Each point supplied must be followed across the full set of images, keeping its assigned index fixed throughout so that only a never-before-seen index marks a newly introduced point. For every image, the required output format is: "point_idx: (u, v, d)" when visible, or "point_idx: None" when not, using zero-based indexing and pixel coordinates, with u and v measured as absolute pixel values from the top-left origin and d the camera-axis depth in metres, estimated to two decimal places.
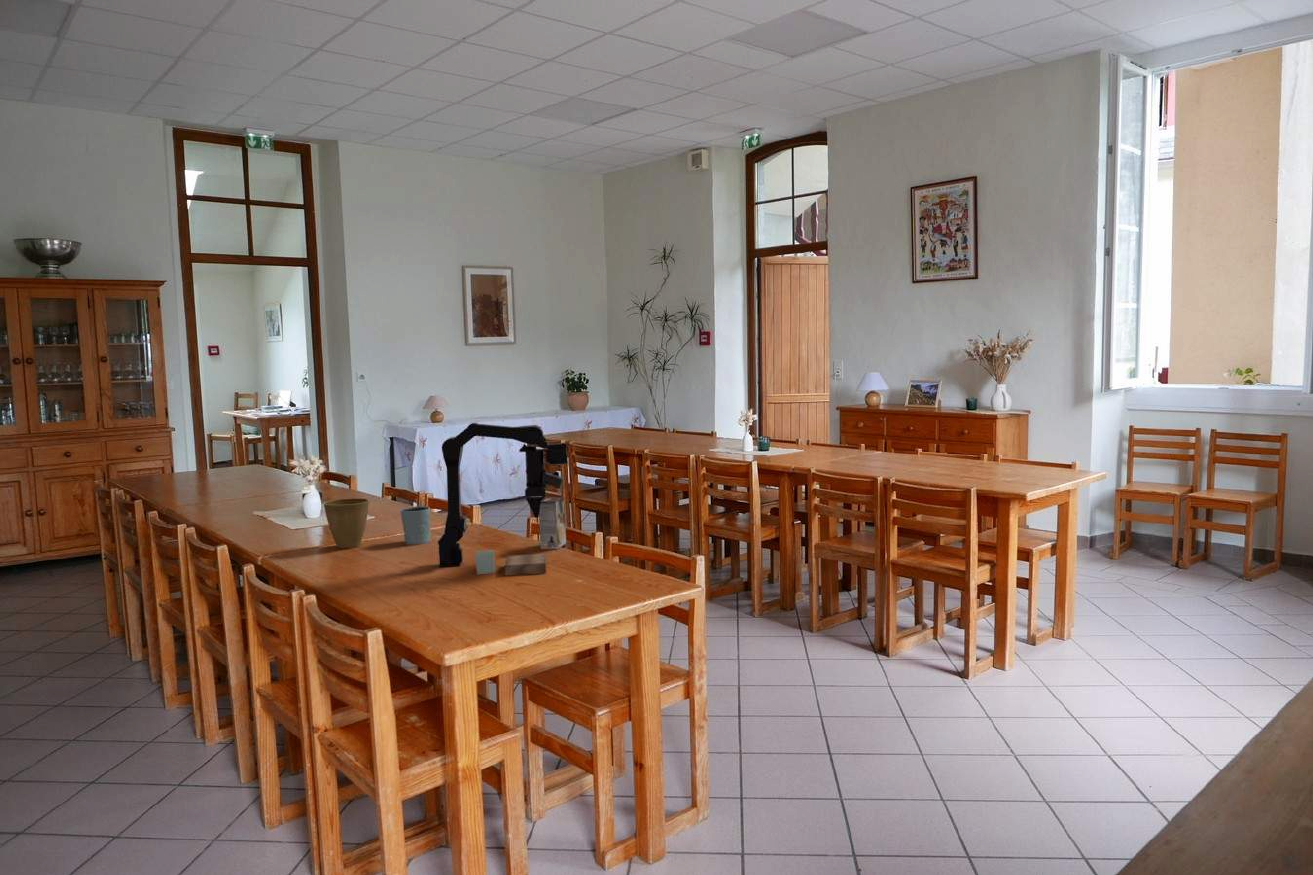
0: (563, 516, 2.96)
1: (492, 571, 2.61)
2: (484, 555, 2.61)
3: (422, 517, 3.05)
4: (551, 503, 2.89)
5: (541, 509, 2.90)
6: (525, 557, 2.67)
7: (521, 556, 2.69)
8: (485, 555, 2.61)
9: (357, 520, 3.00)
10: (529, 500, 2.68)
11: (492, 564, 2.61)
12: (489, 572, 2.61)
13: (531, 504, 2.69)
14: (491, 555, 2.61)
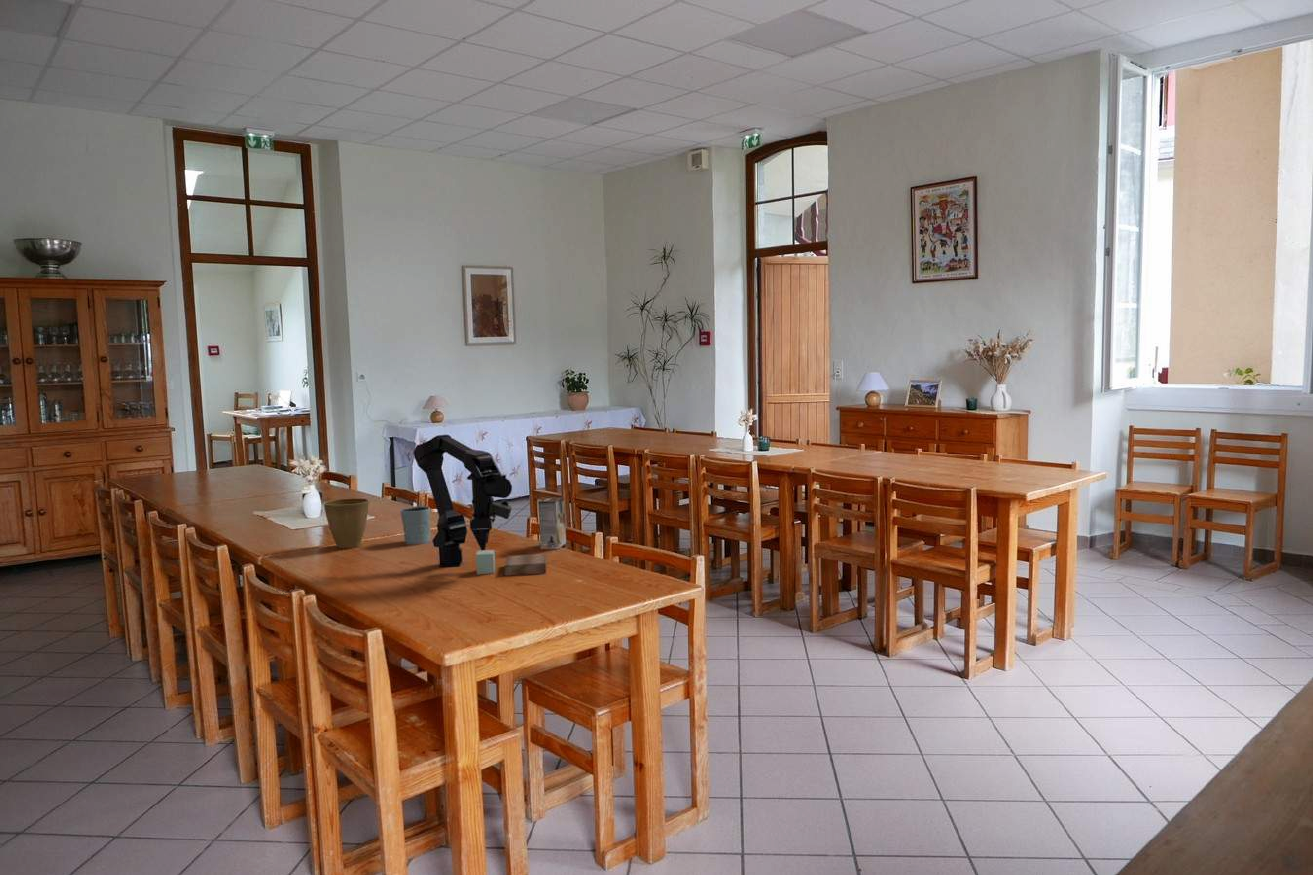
0: (563, 516, 2.96)
1: (492, 571, 2.61)
2: (484, 555, 2.61)
3: (422, 517, 3.05)
4: (551, 503, 2.89)
5: (541, 509, 2.90)
6: (525, 557, 2.67)
7: (521, 556, 2.69)
8: (485, 555, 2.61)
9: (357, 520, 3.00)
10: (475, 532, 2.56)
11: (492, 564, 2.61)
12: (489, 572, 2.61)
13: (477, 536, 2.56)
14: (491, 555, 2.61)
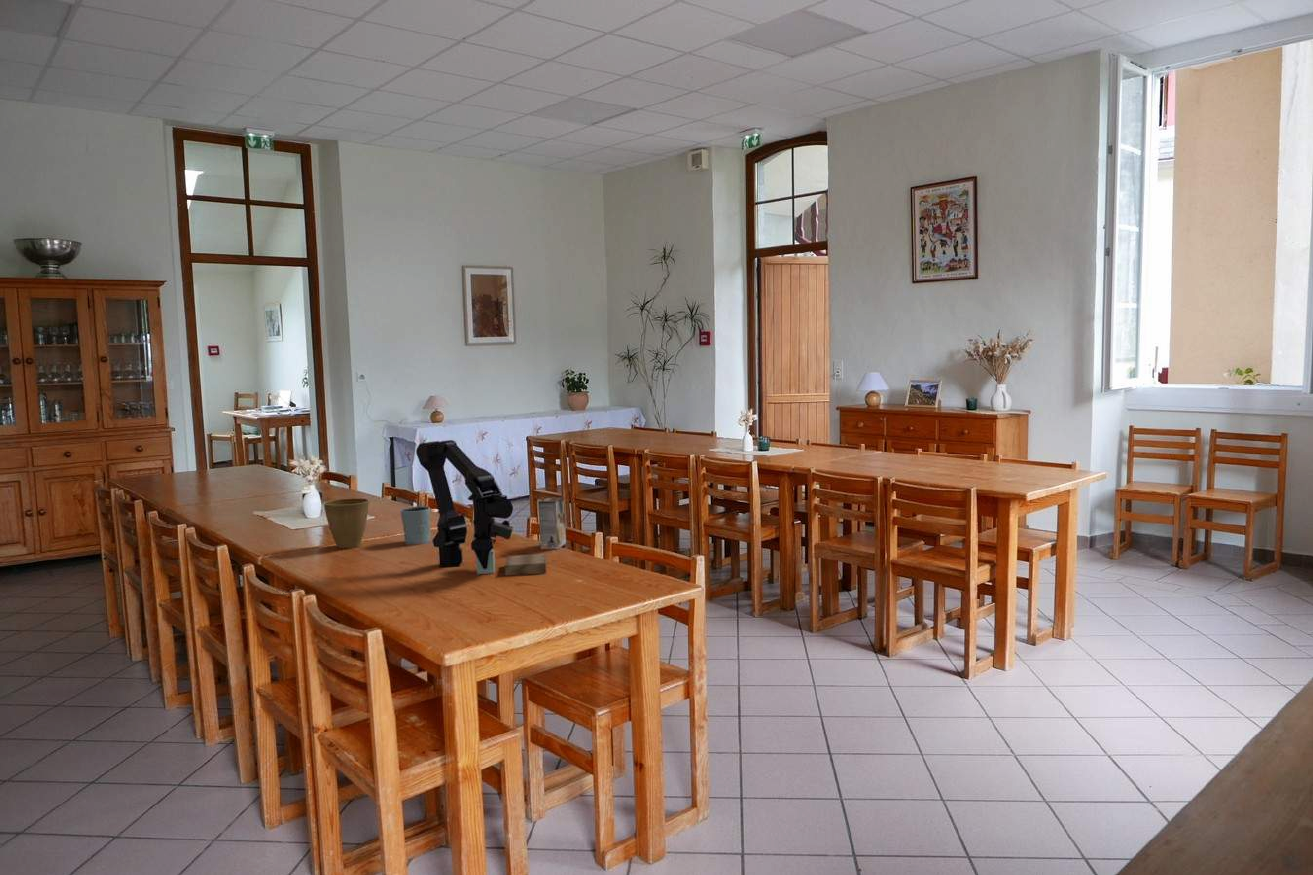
0: (563, 516, 2.96)
1: (492, 571, 2.61)
2: None
3: (422, 517, 3.05)
4: (551, 503, 2.89)
5: (541, 509, 2.90)
6: (525, 557, 2.67)
7: (521, 556, 2.69)
8: None
9: (357, 520, 3.00)
10: (477, 551, 2.58)
11: (492, 564, 2.61)
12: (489, 572, 2.61)
13: (479, 555, 2.59)
14: (491, 555, 2.61)
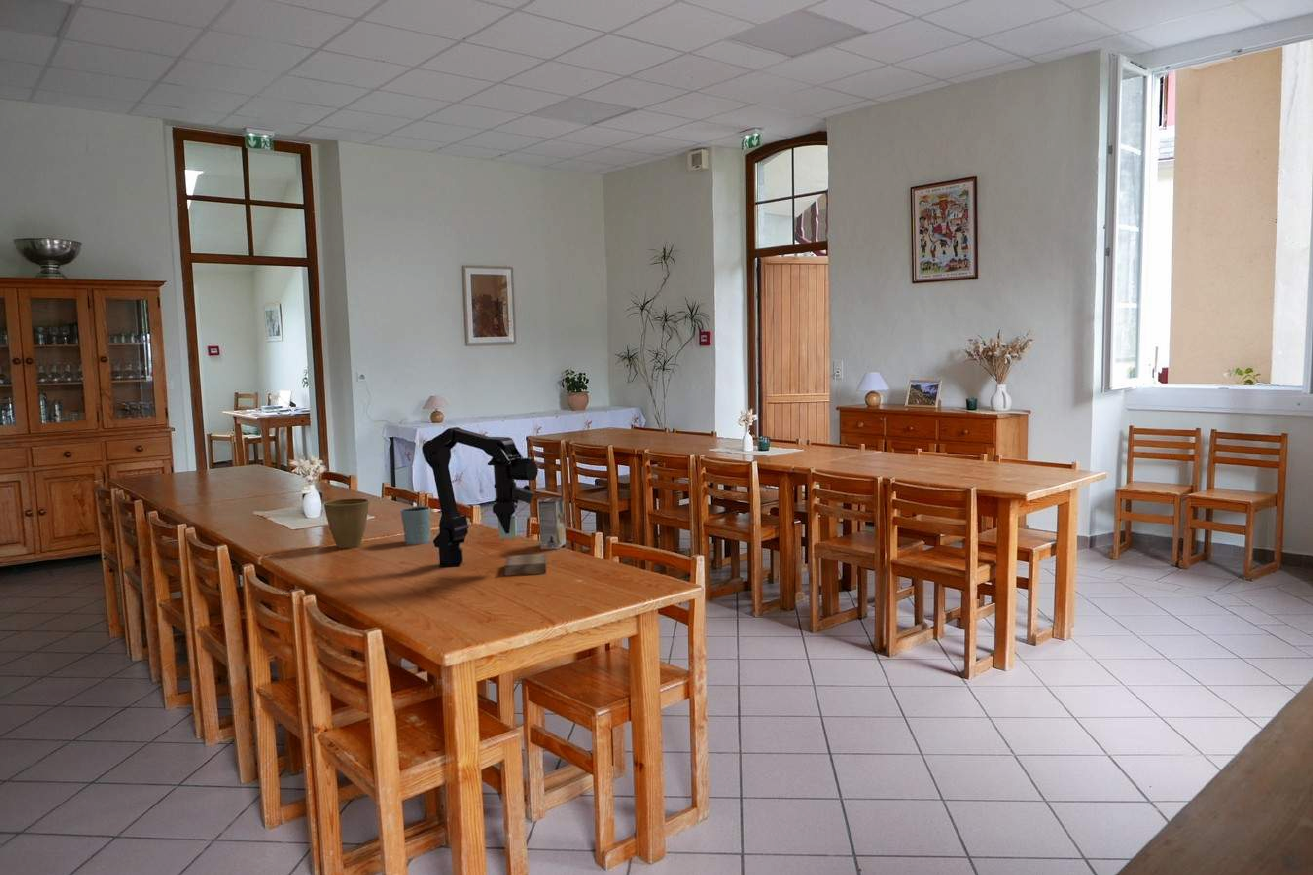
0: (563, 516, 2.96)
1: (514, 535, 2.61)
2: None
3: (422, 517, 3.05)
4: (551, 503, 2.89)
5: (541, 509, 2.90)
6: (525, 557, 2.67)
7: (521, 556, 2.69)
8: None
9: (357, 520, 3.00)
10: (498, 515, 2.58)
11: (514, 528, 2.60)
12: (511, 536, 2.61)
13: (501, 519, 2.58)
14: (513, 519, 2.60)
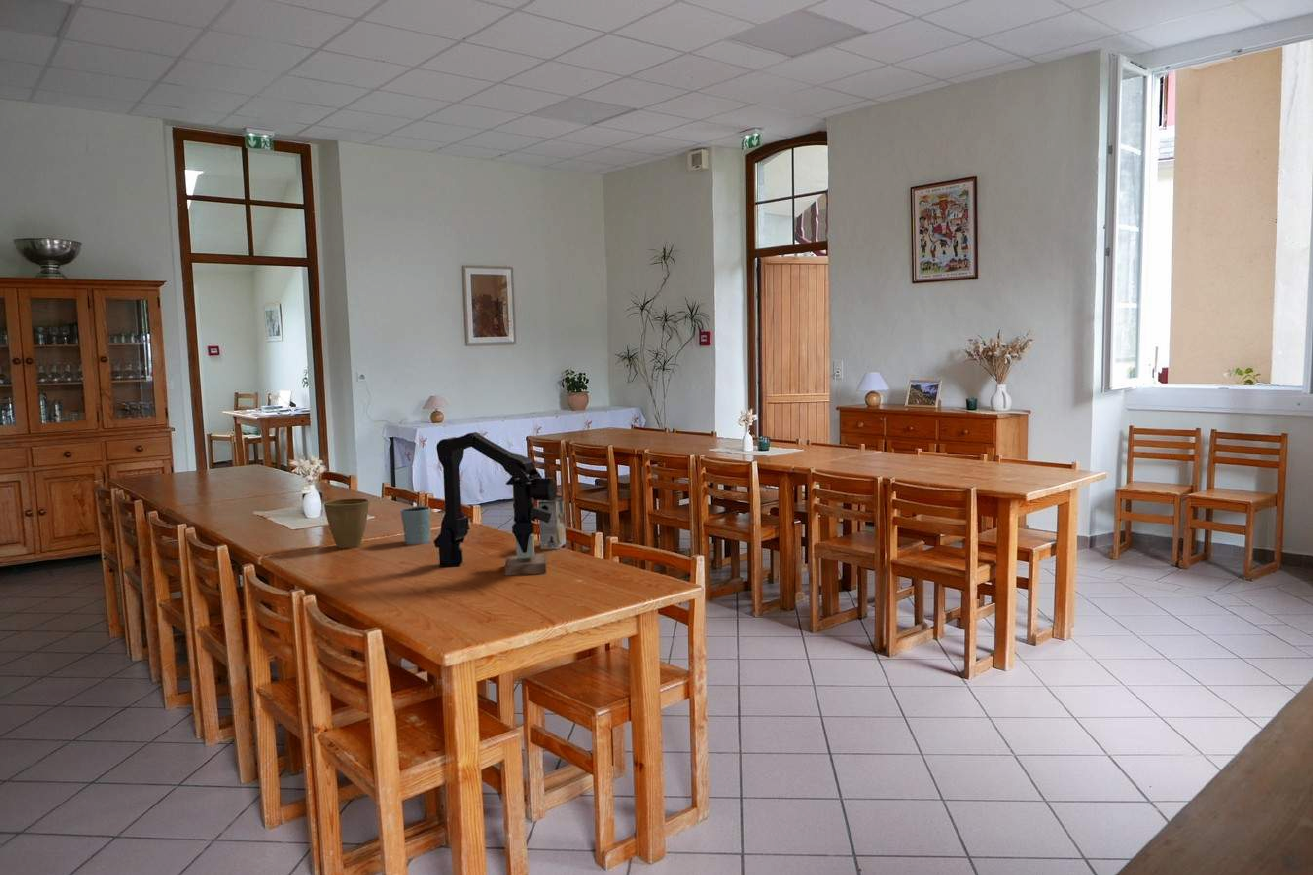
0: (563, 516, 2.96)
1: (532, 555, 2.62)
2: None
3: (422, 517, 3.05)
4: (551, 503, 2.89)
5: None
6: (525, 557, 2.67)
7: None
8: None
9: (357, 520, 3.00)
10: (517, 535, 2.59)
11: (532, 548, 2.62)
12: (529, 556, 2.62)
13: (519, 539, 2.60)
14: (531, 539, 2.62)
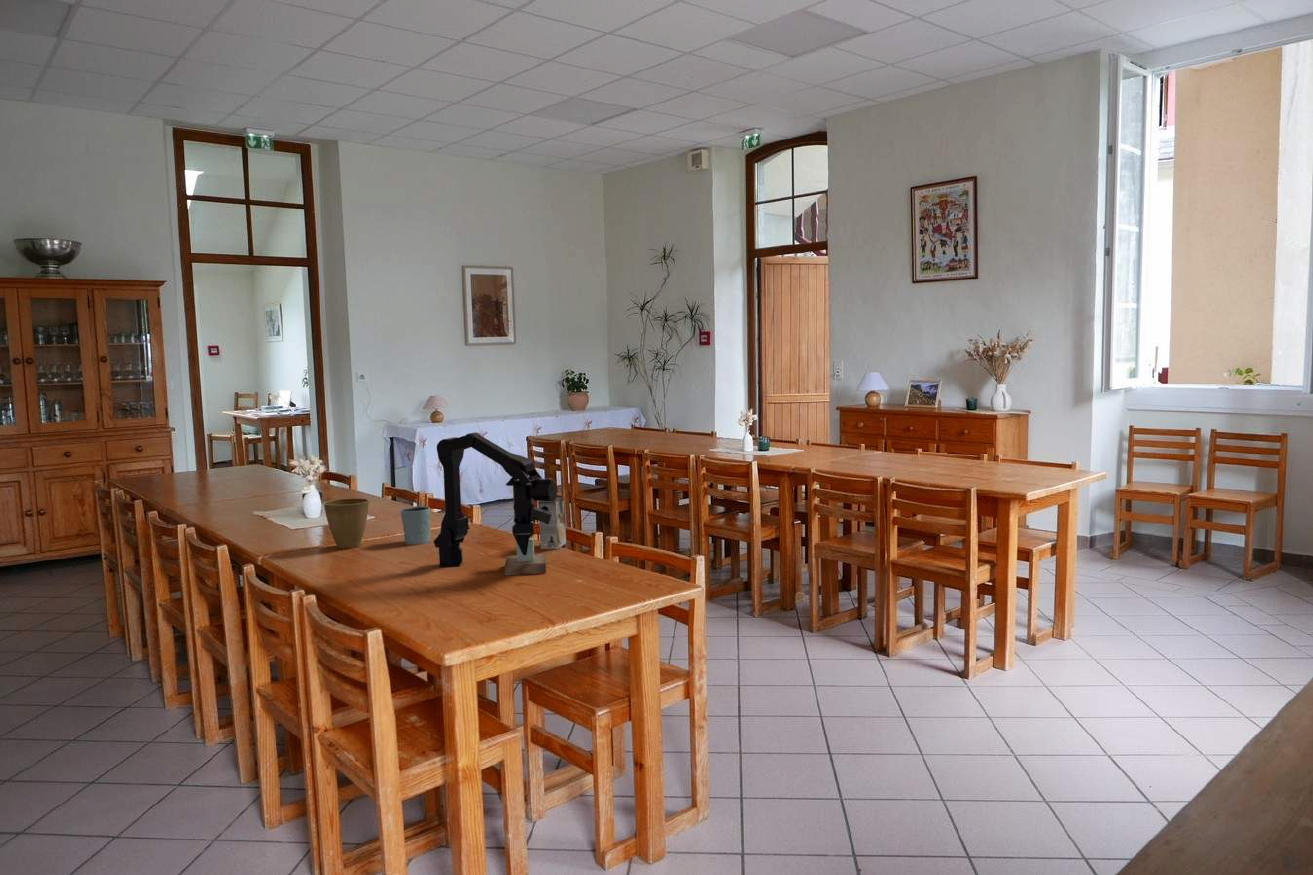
0: (563, 516, 2.96)
1: (532, 559, 2.62)
2: None
3: (422, 517, 3.05)
4: (551, 503, 2.89)
5: None
6: None
7: None
8: None
9: (357, 520, 3.00)
10: (517, 537, 2.57)
11: (532, 552, 2.62)
12: (529, 559, 2.62)
13: (519, 541, 2.58)
14: (531, 543, 2.62)
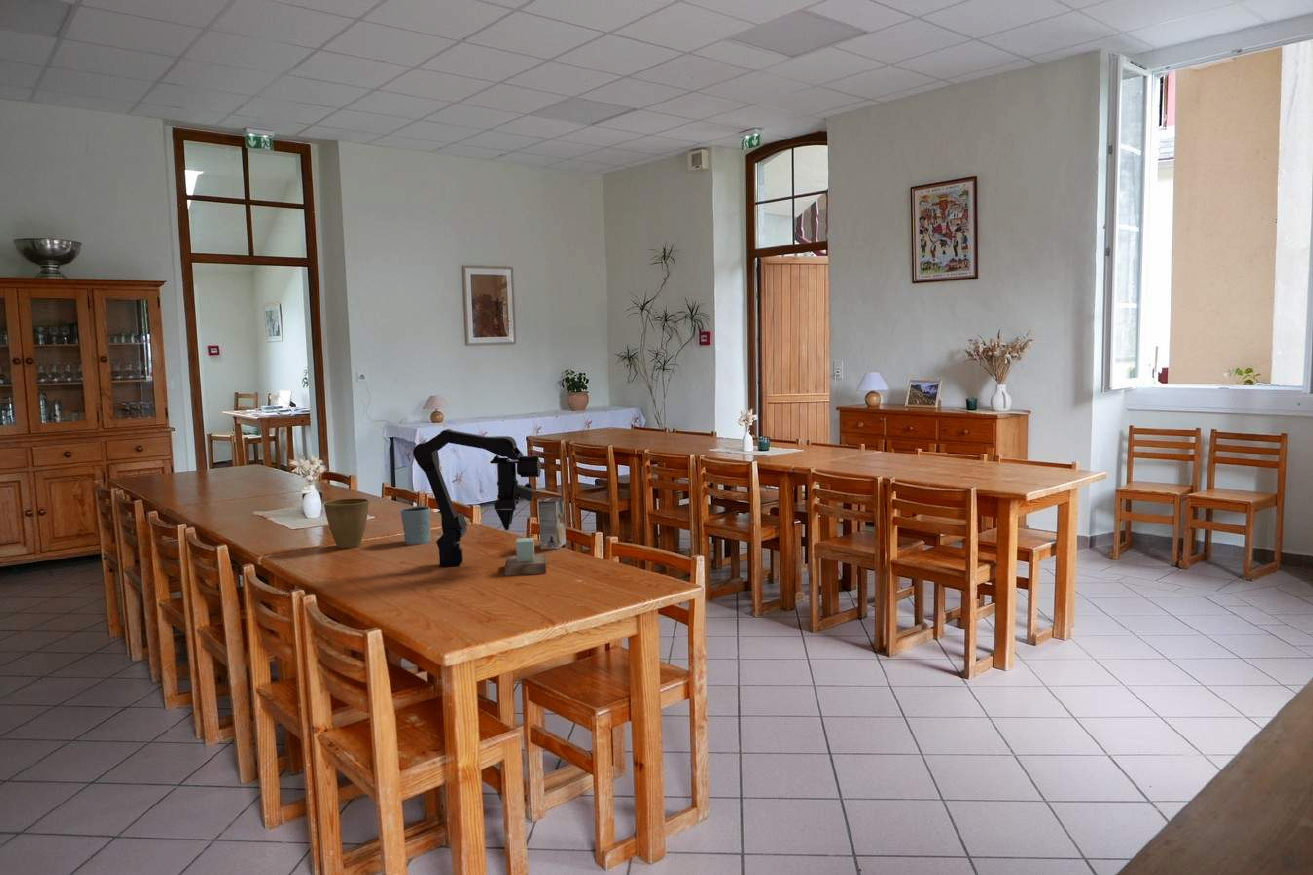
0: (563, 516, 2.96)
1: (532, 559, 2.62)
2: (524, 543, 2.62)
3: (422, 517, 3.05)
4: (551, 503, 2.89)
5: (541, 509, 2.90)
6: None
7: None
8: (525, 543, 2.62)
9: (357, 520, 3.00)
10: (499, 512, 2.65)
11: (532, 552, 2.62)
12: (529, 559, 2.62)
13: (501, 516, 2.66)
14: (531, 543, 2.62)
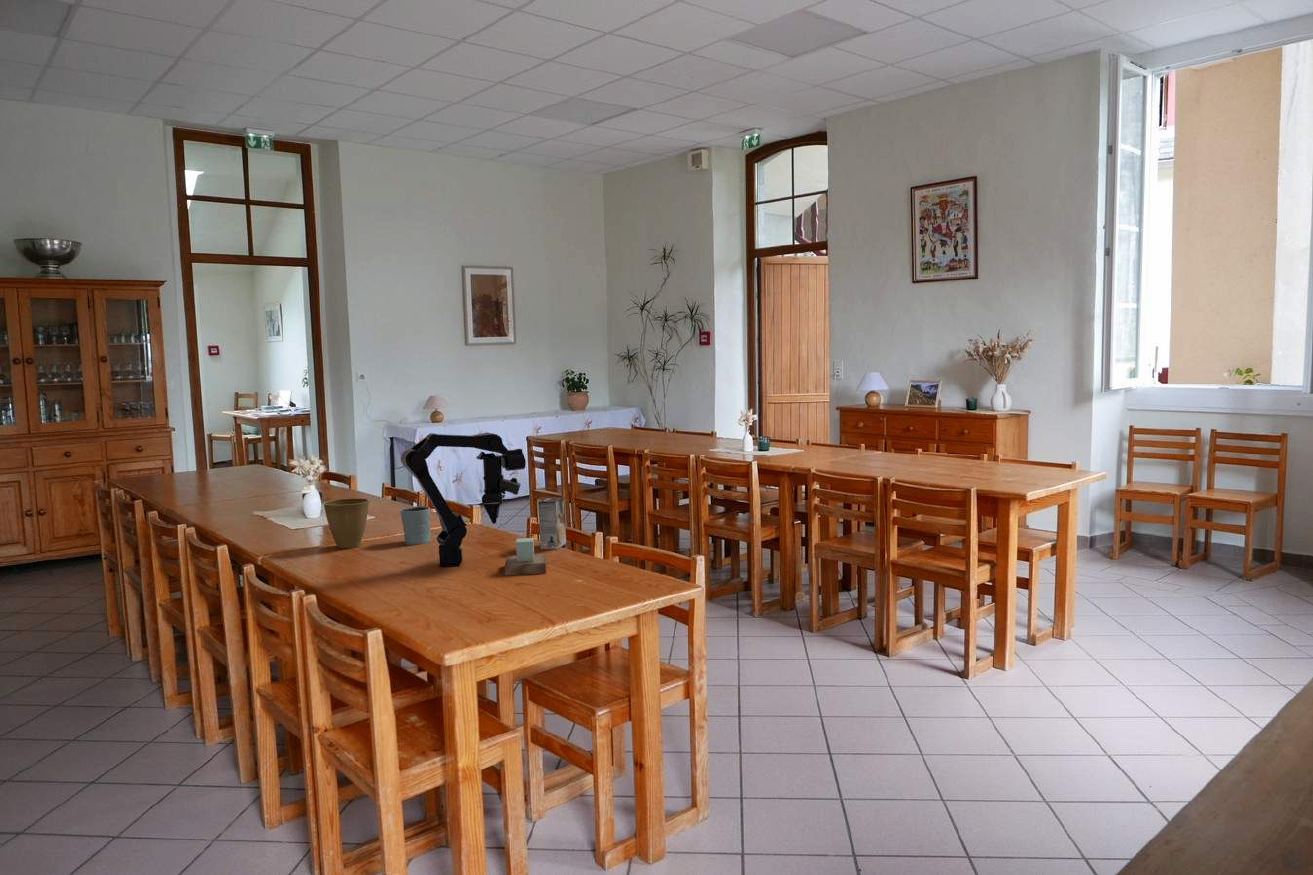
0: (563, 516, 2.96)
1: (532, 559, 2.62)
2: (524, 543, 2.62)
3: (422, 517, 3.05)
4: (551, 503, 2.89)
5: (541, 509, 2.90)
6: None
7: None
8: (525, 543, 2.62)
9: (357, 520, 3.00)
10: (486, 506, 2.73)
11: (532, 552, 2.62)
12: (529, 559, 2.62)
13: (488, 510, 2.74)
14: (531, 543, 2.62)
